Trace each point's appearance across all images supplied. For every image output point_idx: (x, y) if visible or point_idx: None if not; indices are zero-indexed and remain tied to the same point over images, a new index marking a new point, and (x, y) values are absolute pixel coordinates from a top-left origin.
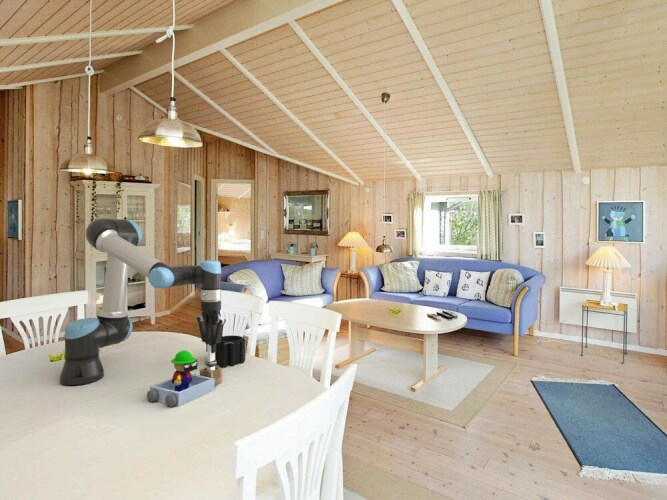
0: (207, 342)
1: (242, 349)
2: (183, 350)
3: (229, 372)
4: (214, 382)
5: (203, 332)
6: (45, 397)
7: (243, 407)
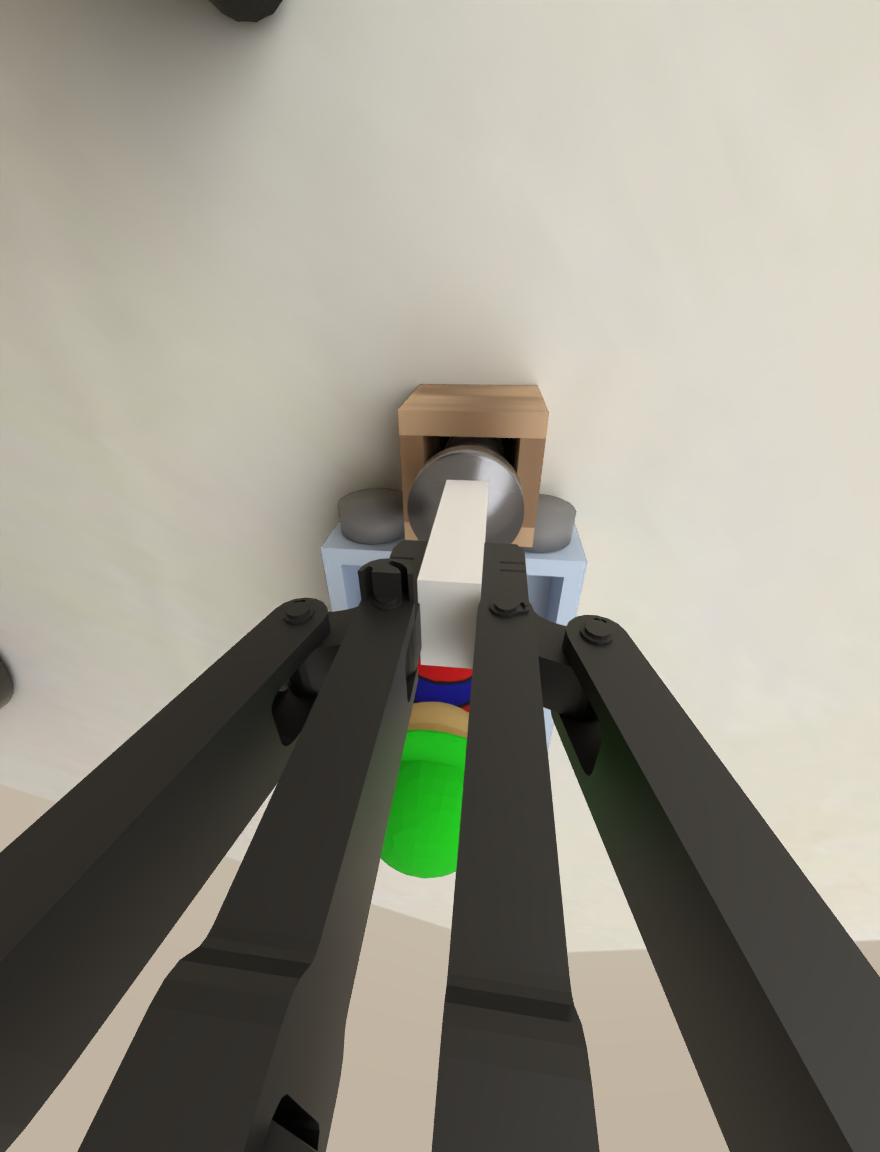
0: (415, 684)
1: None
2: (406, 864)
3: (394, 41)
4: (582, 547)
5: (248, 805)
6: (87, 769)
7: (870, 639)
